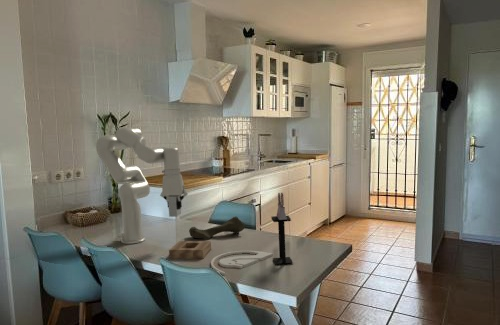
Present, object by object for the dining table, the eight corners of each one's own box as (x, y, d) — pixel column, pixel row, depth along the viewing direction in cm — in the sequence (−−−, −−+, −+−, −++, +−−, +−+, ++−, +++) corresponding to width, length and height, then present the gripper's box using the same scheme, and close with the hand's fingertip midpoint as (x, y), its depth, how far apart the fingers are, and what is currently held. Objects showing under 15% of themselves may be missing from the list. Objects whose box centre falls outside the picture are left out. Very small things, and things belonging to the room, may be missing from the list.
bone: (188, 229, 207) (243, 216, 211) (188, 226, 217) (240, 213, 221) (192, 247, 207) (247, 234, 211) (192, 243, 217) (244, 230, 222)
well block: (169, 258, 180) (168, 249, 180) (179, 249, 194) (179, 241, 193) (203, 258, 177) (202, 250, 177) (211, 249, 191) (210, 241, 191)
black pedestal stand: (272, 258, 173) (269, 191, 171) (289, 257, 174) (286, 190, 172) (275, 266, 163) (273, 195, 161) (293, 265, 164) (291, 194, 161)
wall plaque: (273, 253, 177) (223, 272, 156) (273, 257, 177) (223, 276, 156) (244, 246, 190) (194, 263, 169) (244, 249, 190) (194, 266, 169)
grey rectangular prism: (169, 216, 194) (167, 196, 193) (173, 213, 201) (172, 194, 200) (177, 216, 193) (175, 196, 193) (181, 213, 200) (180, 194, 199)
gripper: (153, 174, 193) (156, 210, 194) (186, 172, 190) (188, 210, 191) (159, 172, 200) (161, 207, 201) (190, 171, 197) (193, 207, 199)
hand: (174, 208), depth 196 cm, fingers closed on grey rectangular prism, 4 cm apart
